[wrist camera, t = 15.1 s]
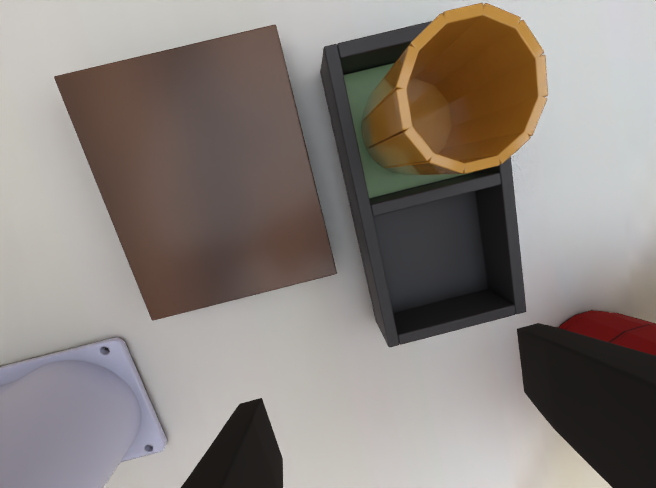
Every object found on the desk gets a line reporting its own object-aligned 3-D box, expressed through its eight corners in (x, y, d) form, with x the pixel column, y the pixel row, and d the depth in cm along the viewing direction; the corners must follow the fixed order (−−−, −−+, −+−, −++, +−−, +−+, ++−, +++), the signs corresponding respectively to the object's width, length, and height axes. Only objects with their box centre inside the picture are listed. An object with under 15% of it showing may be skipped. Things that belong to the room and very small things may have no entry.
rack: (375, 321, 19) (389, 348, 16) (319, 71, 16) (323, 46, 13) (492, 291, 19) (527, 312, 16) (460, 37, 16) (496, 5, 13)
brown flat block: (168, 305, 18) (151, 321, 16) (85, 89, 15) (52, 76, 13) (333, 263, 18) (337, 274, 16) (279, 43, 16) (275, 23, 14)
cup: (371, 183, 17) (412, 187, 10) (352, 87, 16) (384, 24, 9) (458, 162, 17) (552, 152, 10) (445, 65, 16) (541, -12, 9)
